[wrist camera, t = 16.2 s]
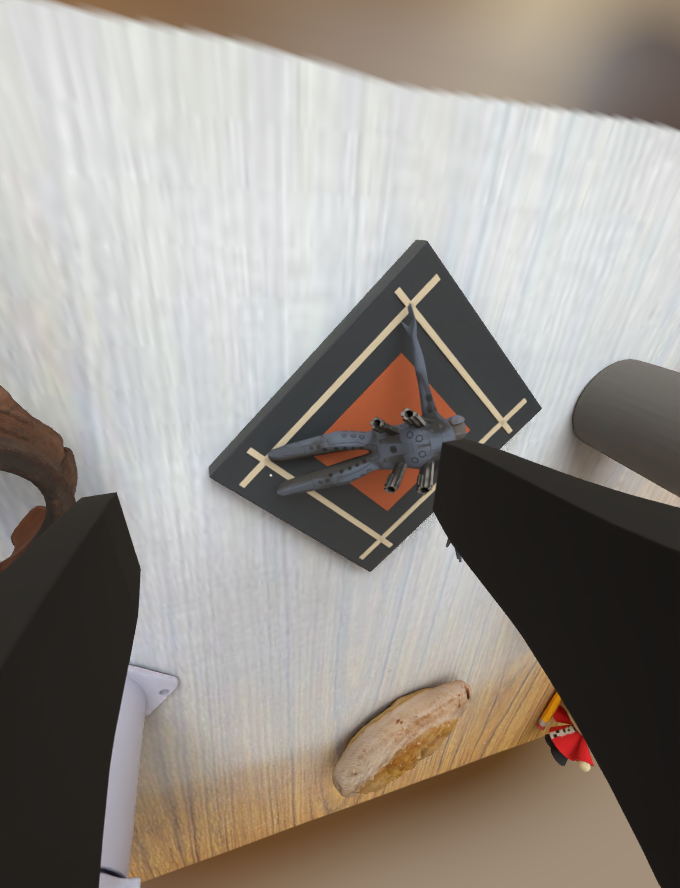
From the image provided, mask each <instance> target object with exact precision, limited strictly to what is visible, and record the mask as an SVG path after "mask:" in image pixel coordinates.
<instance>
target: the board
mask: <svg viewBox="0 0 680 888" xmlns="http://www.w3.org/2000/svg"><path fill="white" fill-rule="evenodd" d="M409 303H410V304H411V306H412V308H413V312H414V315H415V319H416V323H417V339H418V342H419V345H420V348H421V351H422V354H423V357H424V361H425V366H426V372H427V378H428V383H429V386H430V390H431V393H432V396H433V399H434V403H435V406H436V409H437V411H438V413H439V414H440V415H441V416H442V417H443V418H445V419H447V418H449V417H452V416H454V415H460V416H462V417H464V418H465V420H464V423H465V425H466V428H465V431H466V432H467V434H466V436H465V437H464V438H462V439H467V440H471V441H475V442H479V443H482V444H485V445H488V446H491V447H494V448H497V449H500V448H501V447H502V446H503V445H504V444H505V443H506V442H508V441H509V440H510V439H511V438H512V437H513V436H514V435H515V434H516V433H517V432H518V431H519V430H520V429H521V428H522V427H523V426H524V425H525V424H526V423H527V422H529V421H530V420H531V419H532V418H533V417H534V416H535V415H536V414H537V413H538V412H539V411H540V410H541V409H542V408H541V406H540V405H539V403H538V402H537V401H536V399H535V398H534V396H533V395H532V393H531V392H530V390H529V389H528V387H527V386H526V384H525V383H524V382H523V380H522V379H521V377H520V376H519V374H518V373H517V371H516V370H515V368H514V367H513V365H512V364H511V363H510V361H509V360H508V358H507V357H506V355H505V354H504V352H503V351H502V349H501V348H500V346H499V345H498V344H497V342H496V341H495V339H494V338H493V336H492V335H491V333H490V332H489V330H488V329H487V328H486V326H485V325H484V323H483V322H482V320H481V319H480V317H479V316H478V314H477V313H476V311H475V310H474V309H473V307H472V306H471V304H470V303H469V301H468V300H467V298H466V297H465V295H464V294H463V292H462V291H461V290H460V288H459V287H458V285H457V284H456V282H455V281H454V279H453V278H452V276H451V275H450V273H449V272H448V271H447V269H446V268H445V266H444V265H443V263H442V262H441V260H440V259H439V257H438V256H437V254H436V253H435V252H434V250H433V249H432V247H431V246H430V244H429V243H428V241H425V240H416V241H415V242H414V243H413V244H412V245H411V246H410V247H409V248H408V250H407V251H406V252H405V253H404V254H403V255H402V256H401V257H400V258H399V259H398V260H397V262H396V263H395V264H394V265H393V266H392V267H391V268H390V269H389V270H388V271H387V272H386V274H385V275H384V276H383V277H382V278H381V279H380V280H379V281H378V282H377V283H376V285H375V286H374V287H373V288H372V289H371V290H370V291H369V292H368V293H367V294H366V295H365V297H364V298H363V299H362V300H361V301H360V302H359V303H358V304H357V305H356V306H355V308H354V309H353V310H352V311H351V312H350V313H349V314H348V315H347V316H346V317H345V318H344V320H343V321H342V322H341V323H340V324H339V325H338V326H337V327H336V328H335V329H334V331H333V332H332V333H331V334H330V335H329V336H328V337H327V338H326V339H325V340H324V341H323V343H322V344H321V345H320V346H319V347H318V348H317V349H316V350H315V351H314V352H313V353H312V355H311V356H310V357H309V358H308V359H307V360H306V361H305V362H304V363H303V364H302V366H301V367H300V368H299V369H298V370H297V371H296V372H295V373H294V374H293V375H292V376H291V378H290V379H289V380H288V381H287V382H286V383H285V384H284V385H283V386H282V387H281V389H280V390H279V391H278V392H277V393H276V394H275V395H274V396H273V397H272V398H271V399H270V401H269V402H268V403H267V404H266V405H265V406H264V407H263V408H262V409H261V410H260V412H259V413H258V414H257V415H256V416H255V417H254V418H253V419H252V420H251V421H250V422H249V424H248V425H247V426H246V427H245V428H244V429H243V430H242V431H241V432H240V433H239V434H238V436H237V437H236V438H235V439H234V440H233V441H232V442H231V443H230V444H229V445H228V447H227V448H226V449H225V450H224V451H223V452H222V453H221V454H220V455H219V456H218V457H217V459H216V460H215V461H214V462H213V463H212V464H211V465H210V466H209V475H210V478H212V479H213V480H215V481H217V482H219V483H220V484H222V485H224V486H225V487H227V488H229V489H230V490H232V491H234V492H236V493H237V494H239V495H241V496H242V497H244V498H246V499H247V500H249V501H251V502H252V503H254V504H256V505H258V506H259V507H261V508H263V509H264V510H266V511H268V512H269V513H271V514H273V515H275V516H276V517H278V518H280V519H281V520H283V521H285V522H286V523H288V524H290V525H291V526H293V527H295V528H297V529H298V530H300V531H302V532H303V533H305V534H307V535H308V536H310V537H312V538H314V539H315V540H317V541H319V542H320V543H322V544H324V545H325V546H327V547H329V548H330V549H332V550H334V551H336V552H337V553H339V554H341V555H342V556H344V557H346V558H347V559H349V560H351V561H353V562H354V563H356V564H358V565H359V566H361V567H363V568H364V569H366V570H368V571H369V572H371V571H372V570H373V569H374V568H375V567H376V566H377V565H378V564H379V563H380V562H381V561H382V560H384V559H385V558H386V557H387V556H388V555H389V554H390V553H391V552H392V551H393V550H394V549H395V548H396V547H397V546H398V545H399V544H400V543H401V542H402V541H403V540H405V539H406V538H407V537H408V536H409V535H410V534H411V533H412V532H413V531H414V530H415V529H416V528H417V527H418V526H419V525H420V524H421V523H422V522H423V521H425V520H426V519H427V518H428V517H429V516H430V515H431V514H432V513H433V503H434V496H435V489H436V482H437V481H436V478H435V474H433V487H432V490H430V491H429V492H428V493H426V495H421V493H420V494H418V493H417V491H416V489H417V487H416V483H417V476H418V475H419V469H412V468H406V470H405V473H404V475H403V478H402V480H401V483H400V486H399V488H398V490H396V491H395V492H394V494H390V493H389V492H385V490H384V488H385V486H384V484H385V482H386V480H387V477H388V475H389V473H390V474H391V473H392V470H374V471H372V472H370V473H368V474H367V475H365V476H363V477H362V478H359V479H357V480H355V481H353V482H351V483H348V484H344V485H339V486H334V487H329V488H324V489H319V490H314V491H310V492H305V493H299V494H292V495H286V496H282V495H280V494H277V488H278V486H279V485H280V484H281V483H282V482H284V481H287V480H289V479H292V478H295V477H298V476H300V475H303V474H306V473H309V472H312V471H315V470H318V469H321V468H325V467H328V466H330V465H333V464H336V463H339V462H342V461H344V460H348V459H351V458H354V457H357V456H361V455H364V454H367V453H369V451H367V450H347V451H340V452H334V453H328V454H323V455H318V456H312V457H307V458H301V459H296V460H291V461H281V462H277V461H273V460H270V459H269V458H268V453H269V452H270V450H272V449H275V448H278V447H281V446H283V445H287V444H291V443H294V442H298V441H302V440H305V439H309V438H313V437H316V436H320V435H324V434H327V433H331V432H335V431H362V432H367V431H371V430H373V429H372V427H371V426H372V425H370V420H372V421H373V418H375V417H378V418H380V419H382V420H384V421H385V422H386V423H388V424H390V425H394V426H396V425H399V424H401V423H404V421H403V420H402V419H403V417H401V411H404V409H405V408H406V407H407V408H409V409H410V410H412V411H414V412H417V413H418V414H419V415H420V416H422V411H421V403H420V394H419V388H418V382H417V377H416V373H415V368H414V361H413V351H412V343H411V338H410V336H409V335H408V333H407V332H406V330H405V328H404V327H403V325H402V322H403V323H404V324H405V325H407V326H409V325H410V318H409V313H408V306H409ZM270 474H271V475H272V476H271V477H270Z"/></svg>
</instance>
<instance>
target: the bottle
mask: <svg viewBox="0 0 680 888" xmlns="http://www.w3.org/2000/svg"><path fill="white" fill-rule="evenodd" d="M573 427H574V431H575V433H576V435H577V437H578V438H579V439H580V440H582V441H583V442H584V443H586V444H588V445H589V446H591V447H593V448H594V449H596V450H598V451H600V452H601V453H603V454H605V455H607V456H608V457H610V458H612V459H613V460H615V461H617V462H619V463H620V464H622V465H624V466H626V467H627V468H629V469H631V470H633V471H634V472H636V473H638V474H640V475H641V476H643V477H645V478H647V479H648V480H650V481H652V482H654V483H655V484H657V485H659V486H661V487H662V488H664V489H666V490H668V491H670V492H671V493H673V494H675V495H677V496H678V497H680V373H679V372H676V371H672V370H669V369H666V368H662V367H659V366H656V365H652V364H649V363H646V362H642V361H638V360H632V359H628V360H622V361H618V362H616V363H613V364H612V365H610V366H608V367H606V368H605V369H604V370H602V371H601V372H600V373H599V374H598V375H596V376H595V377H594V378H593V379H592V380H591V382H590V383H589V384H588V385H587V387H586V388H585V389H584V391H583V393H582V394H581V396H580V398H579V400H578V402H577V405H576V408H575V411H574V416H573Z"/></svg>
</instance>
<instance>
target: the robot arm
mask: <svg viewBox="0 0 680 888" xmlns="http://www.w3.org/2000/svg"><path fill="white" fill-rule="evenodd" d="M433 512H434V513H435V515H436V517H437V519H438V521H439V523H440V525H441V526H442V528H443V530H444V532H445V533H446V535H447V537H448V538H449V540H450V542H451V543H452V545H453V546H454V547H455V549H456V550H457V551H458V553H459V554H460V555H461V557H462V558H463V559H464V561H465V562H466V563H467V565H468V566H469V567H470V569H471V570H472V571H473V572H474V574H475V575H476V576H477V578H478V579H479V580H480V581H481V583H482V584H483V585H484V587H485V588H486V589H487V590H488V592H489V593H490V594H491V596H492V597H493V598H494V599H495V601H496V602H497V603H498V605H499V606H500V607H501V608H502V610H503V611H504V612H505V614H506V615H507V616H508V617H509V619H510V620H511V621H512V623H513V624H514V626H515V627H516V628H517V630H518V631H519V633H520V634H521V635H522V637H523V638H524V640H525V641H526V643H527V645H528V646H529V648H530V649H531V651H532V652H533V654H534V656H535V657H536V659H537V660H538V662H539V664H540V665H541V667H542V668H543V670H544V671H545V673H546V675H547V676H548V678H549V679H550V681H551V683H552V684H553V686H554V688H555V690H556V691H557V693H558V695H559V696H560V698H561V700H562V701H563V703H564V705H565V706H566V708H567V710H568V711H569V713H570V715H571V717H572V718H573V720H574V722H575V723H576V725H577V727H578V729H579V730H580V732H581V734H582V736H583V738H584V739H585V741H586V743H587V745H588V747H589V749H590V750H591V752H592V754H593V756H594V758H595V759H596V761H597V763H598V765H599V767H600V769H601V770H602V772H603V774H604V776H605V778H606V779H607V781H608V783H609V785H610V787H611V789H612V791H613V793H614V794H615V797H616V798H617V801H618V803H619V805H620V806H621V809H622V811H623V813H624V814H625V816H626V818H627V820H628V822H629V824H630V826H631V828H632V830H633V832H634V834H635V836H636V838H637V840H638V842H639V844H640V846H641V848H642V850H643V852H644V854H645V856H646V858H647V860H648V863H649V865H650V867H651V869H652V871H653V873H654V875H655V877H656V879H657V881H658V883H659V885H660V886H661V888H680V508H679V507H674V506H671V505H667V504H663V503H659V502H656V501H652V500H648V499H644V498H641V497H637V496H633V495H630V494H626V493H623V492H620V491H616V490H613V489H610V488H607V487H604V486H601V485H598V484H594V483H591V482H588V481H585V480H582V479H579V478H576V477H573V476H571V475H568V474H565V473H562V472H559V471H556V470H554V469H551V468H548V467H545V466H543V465H540V464H537V463H535V462H532V461H529V460H527V459H524V458H521V457H518V456H516V455H513V454H510V453H508V452H505V451H502V450H499V449H497V448H494V447H491V446H488V445H485V444H482V443H479V442H475V441H471V440H467V439H459V440H453V441H446V442H442V448H441V454H440V461H439V468H438V475H437V482H436V489H435V496H434V503H433ZM140 572H141V569H140V565H139V562H138V559H137V556H136V553H135V550H134V546H133V543H132V540H131V537H130V534H129V530H128V527H127V524H126V521H125V518H124V515H123V511H122V508H121V505H120V502H119V499H118V496H117V492H116V493H109V494H103V495H96V496H90V497H83V498H81V499H80V500H78V501H77V502H76V503H75V504H74V505H73V506H71V507H70V508H69V509H68V510H67V511H66V512H65V513H64V514H63V515H62V516H61V517H60V518H59V519H58V520H57V521H55V522H54V523H53V524H52V525H51V526H50V527H49V528H48V529H47V530H46V531H45V532H44V533H43V534H42V535H41V536H40V537H39V538H38V539H37V540H35V541H34V542H33V543H32V544H31V545H30V546H29V547H28V548H27V549H26V550H25V551H24V552H23V553H22V554H20V555H19V556H18V557H17V558H16V559H15V560H14V561H13V562H12V563H11V564H10V565H9V566H8V567H7V568H5V569H4V570H3V571H2V572H1V573H0V888H140V886H141V878H140V877H136V878H128V876H129V866H130V857H131V847H132V837H133V827H134V818H135V808H136V798H137V789H138V779H139V769H140V760H141V750H142V740H143V730H144V721H145V719H146V718H147V717H148V716H149V715H150V714H151V713H152V712H153V711H154V710H155V709H156V708H157V707H158V706H159V705H160V704H161V703H162V702H163V701H164V700H165V699H166V698H167V697H168V696H169V695H170V694H171V693H172V692H173V691H174V690H175V689H176V688H177V687H178V679H177V678H176V677H174V676H170V675H166V674H163V673H159V672H155V671H151V670H147V669H144V668H140V667H136V666H132V665H129V661H130V656H131V651H132V645H133V640H134V635H135V629H136V624H137V618H138V608H139V593H140Z"/></svg>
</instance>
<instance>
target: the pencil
mask: <svg viewBox="0 0 680 888" xmlns="http://www.w3.org/2000/svg"><path fill="white" fill-rule="evenodd" d="M561 701H562V700H561V698H560V696H559V695H558V693H557V692H556V693H555V695H554V697H553V698H552V700H551V702H550V703H549V705H548V706H547V708H546V710H545V711H544V713H543V715H542V716H541V718H540V720H539V721H538V723H537V727H538V728H539V729H540V730H544V729H545V727H546V725H547V724H548V722H549V721H550V719H551V717H552V716H553V714H554V712H555V711H556V709H557V708H558V706H559V704H560V703H561Z"/></svg>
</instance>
